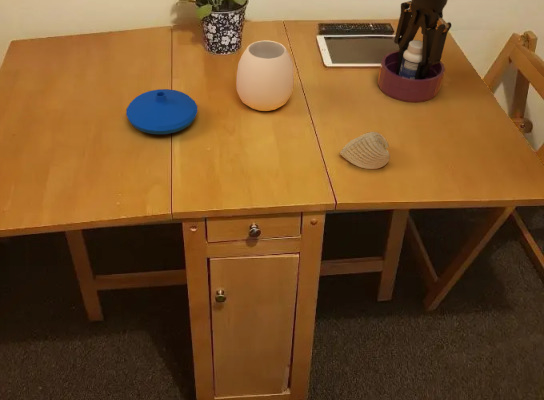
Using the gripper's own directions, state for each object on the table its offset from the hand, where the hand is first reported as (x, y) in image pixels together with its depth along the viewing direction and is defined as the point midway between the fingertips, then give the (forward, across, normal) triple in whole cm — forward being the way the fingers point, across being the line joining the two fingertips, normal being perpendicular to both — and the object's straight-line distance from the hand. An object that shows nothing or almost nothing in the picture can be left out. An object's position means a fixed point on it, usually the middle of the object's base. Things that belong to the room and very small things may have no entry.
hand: (409, 80), depth 139 cm
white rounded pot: (+2, -11, -34) cm, 36 cm away
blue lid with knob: (+2, -15, -58) cm, 60 cm away
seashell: (+2, +17, -26) cm, 31 cm away
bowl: (+2, 0, 0) cm, 2 cm away
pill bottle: (+1, 0, 0) cm, 1 cm away
